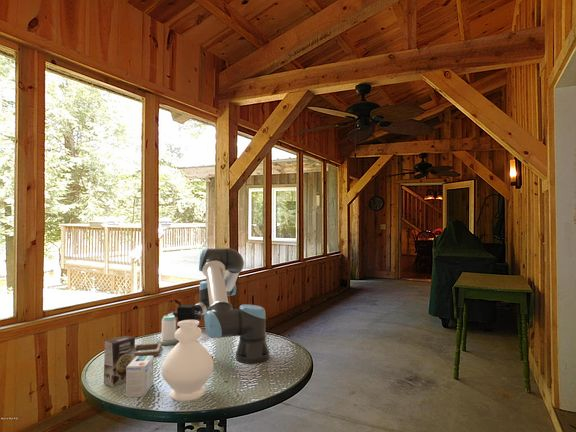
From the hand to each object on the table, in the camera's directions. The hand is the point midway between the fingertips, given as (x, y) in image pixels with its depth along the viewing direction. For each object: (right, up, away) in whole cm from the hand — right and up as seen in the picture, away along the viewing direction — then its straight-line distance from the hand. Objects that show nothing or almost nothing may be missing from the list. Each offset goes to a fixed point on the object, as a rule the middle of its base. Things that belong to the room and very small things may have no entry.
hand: (176, 319), depth 197 cm
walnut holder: (-7, -9, -23) cm, 25 cm away
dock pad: (-2, -10, -7) cm, 12 cm away
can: (-2, -9, -7) cm, 11 cm away
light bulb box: (+6, -8, -63) cm, 63 cm away
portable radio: (+13, -9, -26) cm, 31 cm away
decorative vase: (+24, -8, -65) cm, 69 cm away
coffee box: (-5, -9, -55) cm, 56 cm away
